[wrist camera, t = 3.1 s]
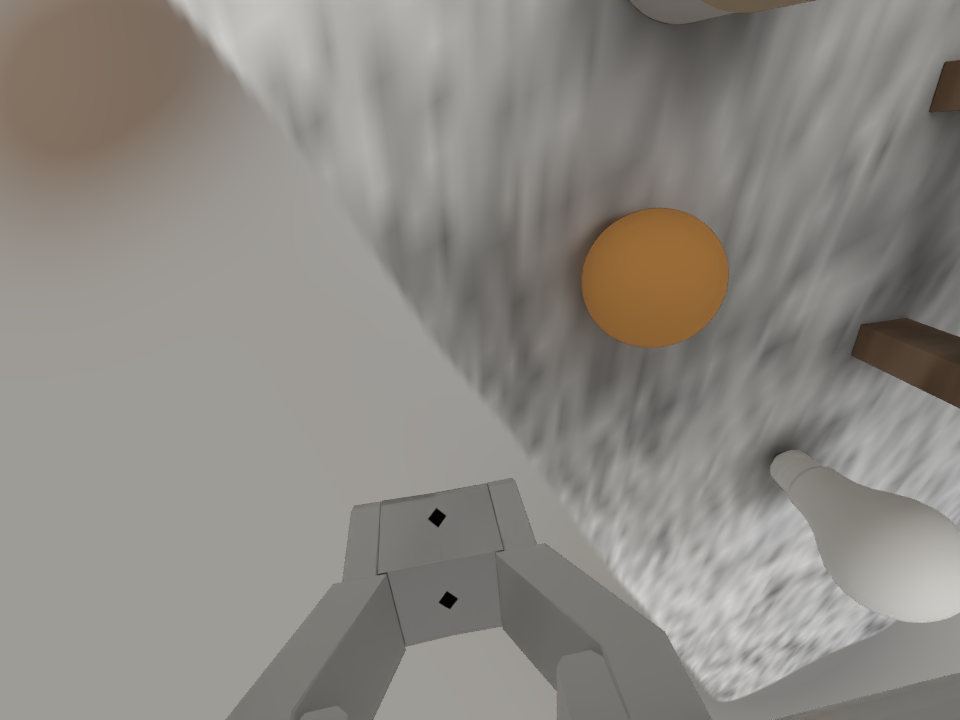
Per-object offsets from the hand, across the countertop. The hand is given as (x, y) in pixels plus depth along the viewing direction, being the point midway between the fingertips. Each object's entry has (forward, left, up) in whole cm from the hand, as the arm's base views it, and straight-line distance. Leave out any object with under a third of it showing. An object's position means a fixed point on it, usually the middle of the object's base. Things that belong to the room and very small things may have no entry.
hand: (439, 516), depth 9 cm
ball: (-10, 0, -12) cm, 16 cm away
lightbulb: (-22, +15, -15) cm, 30 cm away
